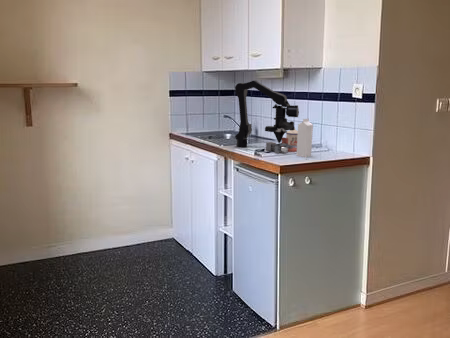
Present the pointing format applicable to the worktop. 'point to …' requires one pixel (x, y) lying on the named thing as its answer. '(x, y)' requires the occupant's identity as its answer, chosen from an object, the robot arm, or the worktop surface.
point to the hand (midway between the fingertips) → (279, 142)
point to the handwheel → (290, 148)
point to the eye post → (277, 147)
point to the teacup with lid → (292, 137)
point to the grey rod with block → (271, 147)
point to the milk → (304, 138)
